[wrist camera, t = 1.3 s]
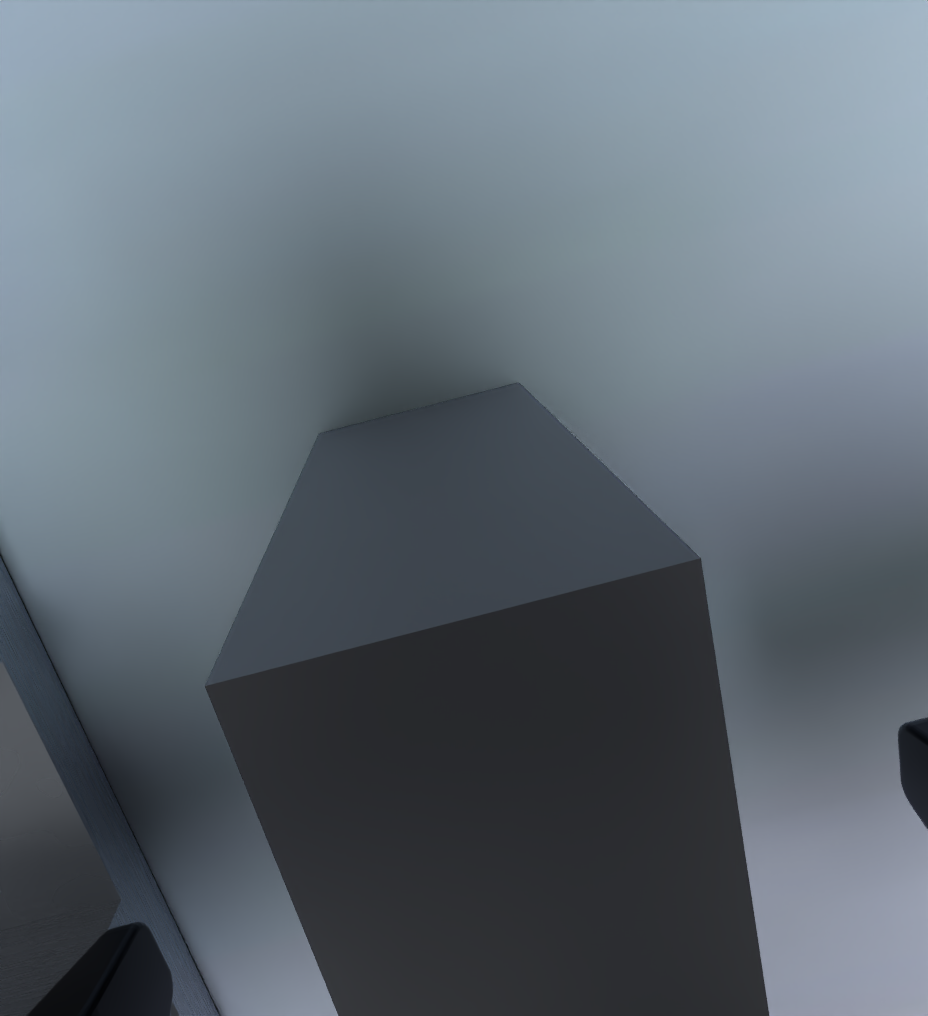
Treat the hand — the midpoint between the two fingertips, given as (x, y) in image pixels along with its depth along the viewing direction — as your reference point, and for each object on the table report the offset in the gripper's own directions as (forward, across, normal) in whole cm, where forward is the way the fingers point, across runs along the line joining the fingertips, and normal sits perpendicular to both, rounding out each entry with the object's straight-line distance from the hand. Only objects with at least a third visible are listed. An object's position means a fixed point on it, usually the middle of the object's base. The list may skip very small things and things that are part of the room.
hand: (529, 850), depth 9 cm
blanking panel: (+4, 0, 0) cm, 4 cm away
